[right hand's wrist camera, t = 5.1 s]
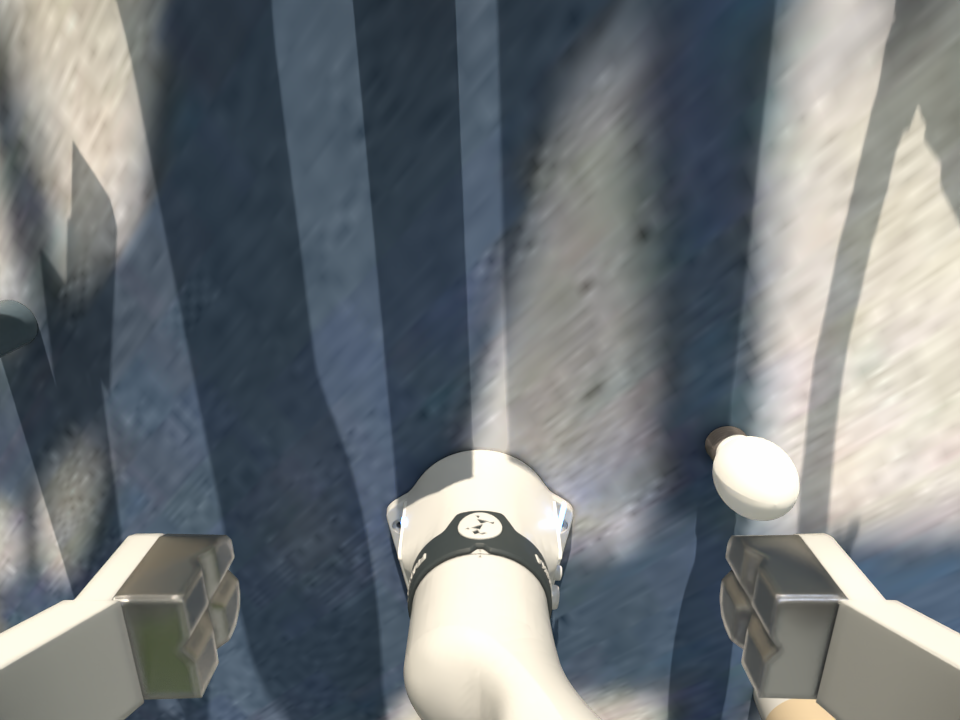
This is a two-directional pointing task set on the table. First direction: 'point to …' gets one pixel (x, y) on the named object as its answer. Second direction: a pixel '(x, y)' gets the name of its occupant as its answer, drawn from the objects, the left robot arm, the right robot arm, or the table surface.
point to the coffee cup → (790, 709)
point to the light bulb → (752, 474)
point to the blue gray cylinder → (15, 326)
